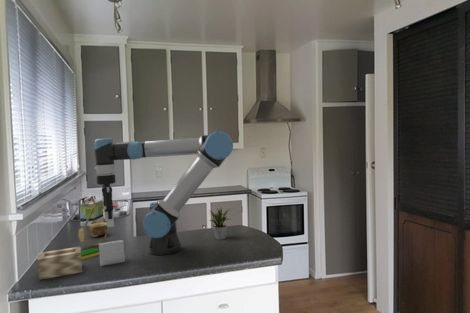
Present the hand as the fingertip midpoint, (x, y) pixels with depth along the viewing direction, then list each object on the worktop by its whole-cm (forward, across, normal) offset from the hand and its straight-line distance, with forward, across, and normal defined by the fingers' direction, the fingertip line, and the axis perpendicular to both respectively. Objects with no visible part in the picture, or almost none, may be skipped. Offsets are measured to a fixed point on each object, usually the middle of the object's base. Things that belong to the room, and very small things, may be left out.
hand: (109, 223), depth 157 cm
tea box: (+18, -95, -4) cm, 96 cm away
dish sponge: (+18, -17, -11) cm, 27 cm away
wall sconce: (+17, -34, -5) cm, 39 cm away
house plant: (+17, -8, +55) cm, 58 cm away
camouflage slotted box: (+17, 0, -20) cm, 26 cm away
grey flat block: (+17, 0, 0) cm, 17 cm away
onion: (+18, -55, -2) cm, 58 cm away
